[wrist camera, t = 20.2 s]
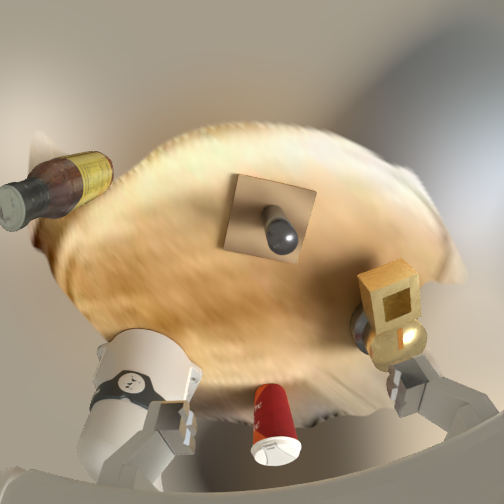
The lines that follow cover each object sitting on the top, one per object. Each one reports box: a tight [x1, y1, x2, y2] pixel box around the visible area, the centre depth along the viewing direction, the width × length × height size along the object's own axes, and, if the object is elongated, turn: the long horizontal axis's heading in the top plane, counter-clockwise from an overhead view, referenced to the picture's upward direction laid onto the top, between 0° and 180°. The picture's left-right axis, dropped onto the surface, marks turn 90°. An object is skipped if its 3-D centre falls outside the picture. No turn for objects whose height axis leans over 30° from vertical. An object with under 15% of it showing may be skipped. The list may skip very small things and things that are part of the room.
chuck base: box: [350, 302, 417, 355], centre depth 46 cm, size 11×11×3 cm
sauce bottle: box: [0, 151, 114, 232], centre depth 28 cm, size 6×6×20 cm
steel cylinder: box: [261, 205, 299, 255], centre depth 35 cm, size 3×3×10 cm
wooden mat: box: [223, 174, 317, 264], centre depth 40 cm, size 10×10×1 cm
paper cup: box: [251, 384, 301, 466], centre depth 46 cm, size 8×8×14 cm
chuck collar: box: [357, 258, 427, 372], centre depth 41 cm, size 16×9×5 cm, turn 19°
